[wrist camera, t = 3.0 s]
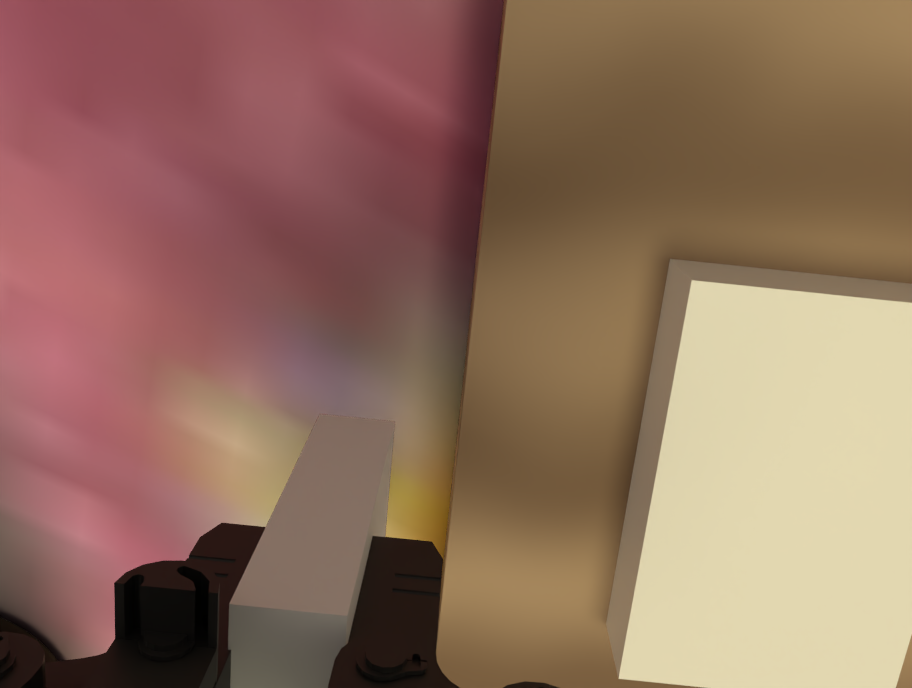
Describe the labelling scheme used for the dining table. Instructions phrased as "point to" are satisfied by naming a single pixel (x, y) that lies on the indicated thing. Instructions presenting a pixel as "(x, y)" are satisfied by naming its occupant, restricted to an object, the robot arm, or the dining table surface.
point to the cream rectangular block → (770, 485)
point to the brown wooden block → (640, 272)
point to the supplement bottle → (8, 626)
